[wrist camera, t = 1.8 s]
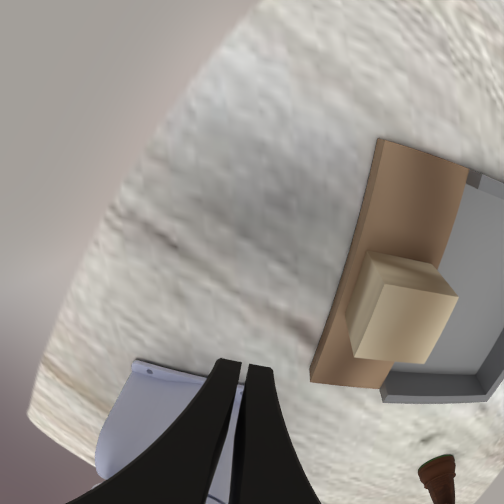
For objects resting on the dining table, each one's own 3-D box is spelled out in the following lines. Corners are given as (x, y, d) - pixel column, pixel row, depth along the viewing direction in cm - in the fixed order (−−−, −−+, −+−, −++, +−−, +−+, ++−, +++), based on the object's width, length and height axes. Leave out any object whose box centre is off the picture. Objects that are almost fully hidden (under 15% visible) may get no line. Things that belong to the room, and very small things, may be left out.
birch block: (344, 315, 17) (353, 357, 14) (366, 250, 15) (384, 283, 12) (406, 324, 17) (424, 363, 14) (431, 263, 15) (459, 297, 12)
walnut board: (309, 368, 20) (310, 381, 19) (377, 138, 14) (385, 140, 13) (376, 376, 20) (379, 388, 19) (457, 164, 14) (469, 169, 13)
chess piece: (452, 449, 24) (473, 521, 15) (454, 464, 26) (471, 528, 17) (415, 465, 26) (429, 539, 17) (420, 478, 27) (432, 544, 18)
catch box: (376, 376, 20) (382, 402, 18) (457, 164, 14) (482, 173, 12) (475, 380, 20) (486, 401, 18) (556, 210, 14) (579, 223, 12)
